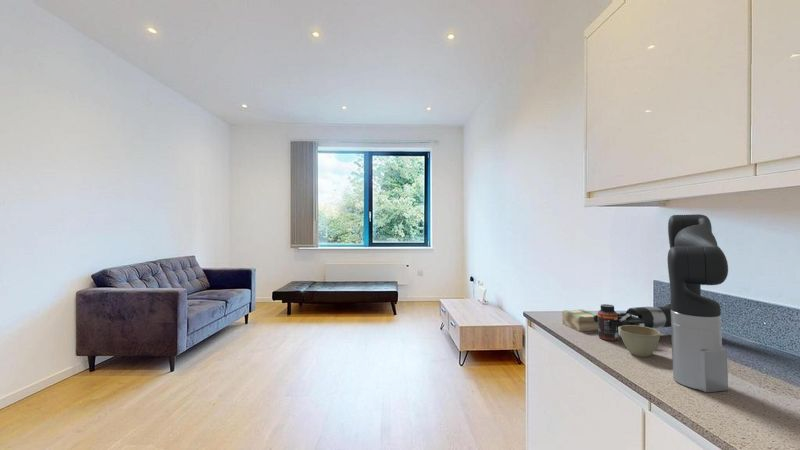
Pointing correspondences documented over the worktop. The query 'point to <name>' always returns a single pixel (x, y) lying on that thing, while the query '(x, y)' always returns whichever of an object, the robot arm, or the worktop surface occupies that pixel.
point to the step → (579, 320)
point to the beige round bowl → (639, 339)
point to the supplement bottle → (603, 317)
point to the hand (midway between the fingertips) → (601, 321)
